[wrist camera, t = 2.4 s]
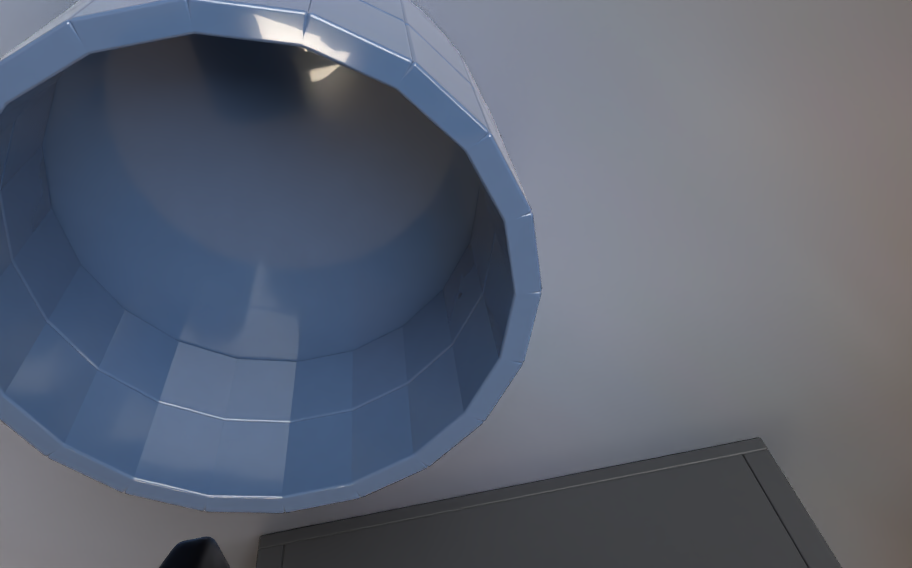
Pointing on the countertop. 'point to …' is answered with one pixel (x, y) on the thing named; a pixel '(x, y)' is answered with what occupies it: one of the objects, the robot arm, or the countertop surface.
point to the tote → (586, 522)
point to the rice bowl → (254, 249)
